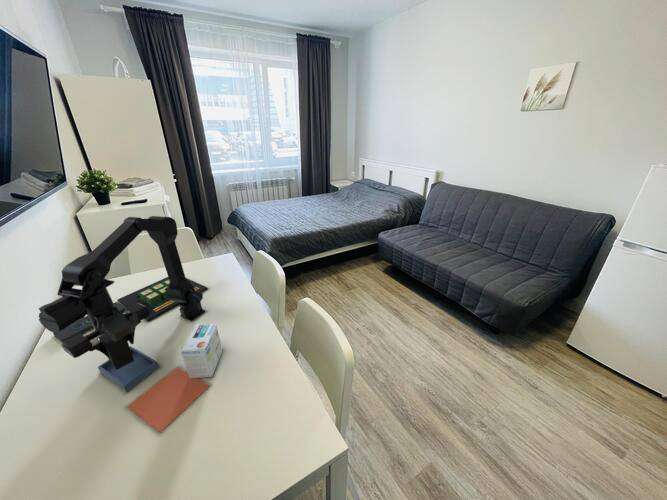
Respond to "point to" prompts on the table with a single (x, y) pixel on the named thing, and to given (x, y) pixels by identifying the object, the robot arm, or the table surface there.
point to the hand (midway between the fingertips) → (121, 350)
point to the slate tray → (130, 370)
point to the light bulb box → (202, 351)
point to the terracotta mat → (168, 398)
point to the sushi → (155, 297)
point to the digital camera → (117, 351)
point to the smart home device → (81, 326)
